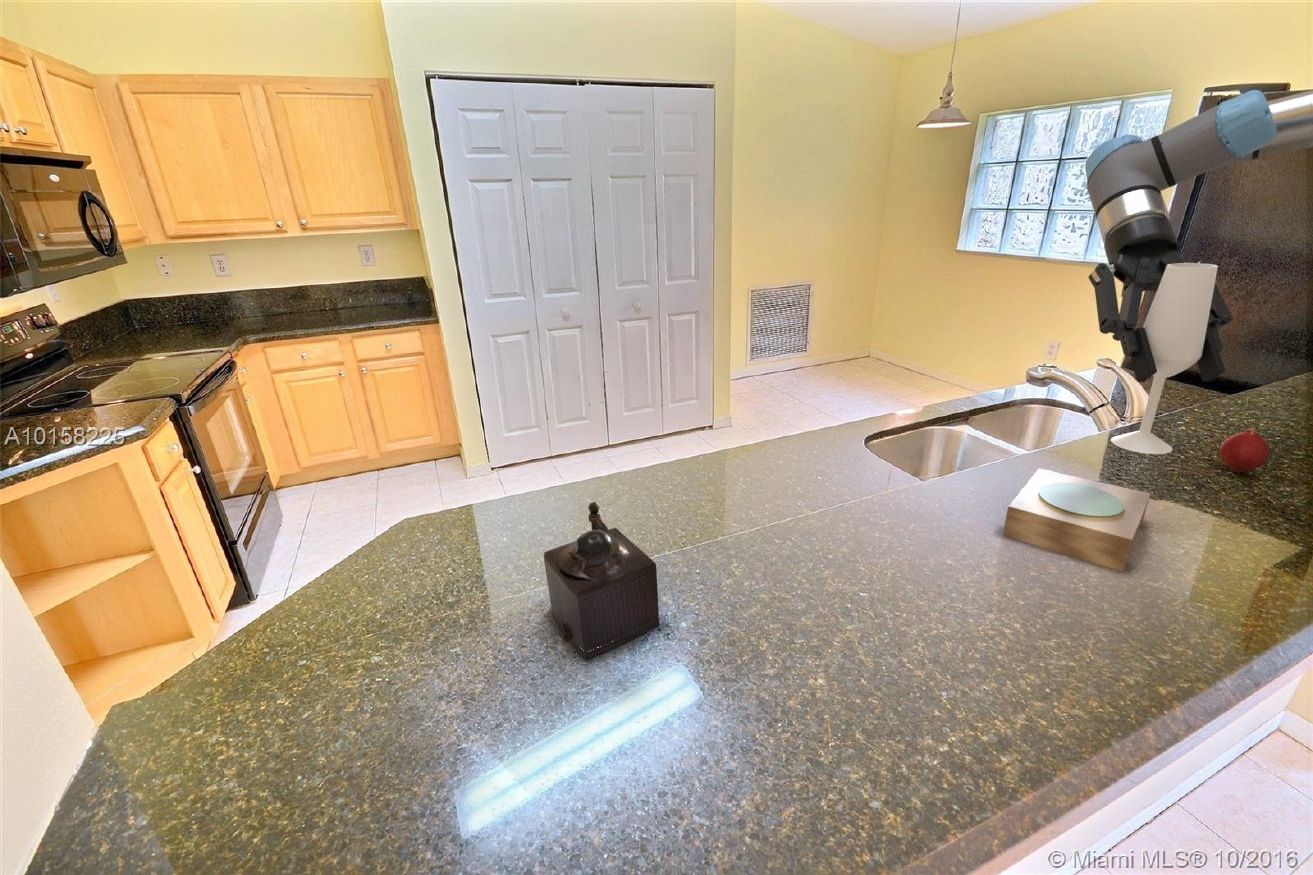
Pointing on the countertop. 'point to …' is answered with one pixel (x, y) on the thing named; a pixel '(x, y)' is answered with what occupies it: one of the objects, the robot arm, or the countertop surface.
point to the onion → (1244, 451)
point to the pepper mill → (601, 589)
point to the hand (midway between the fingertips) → (1180, 376)
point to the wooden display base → (1077, 517)
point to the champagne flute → (1173, 339)
